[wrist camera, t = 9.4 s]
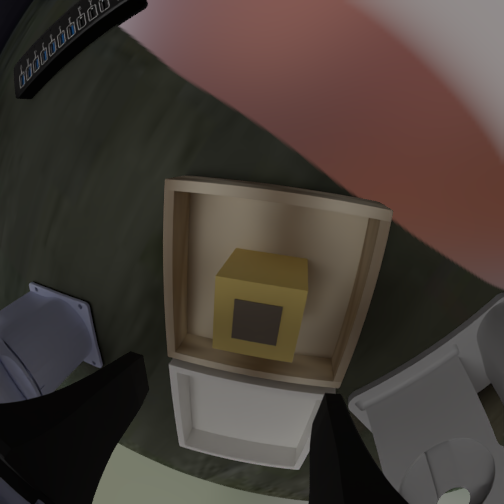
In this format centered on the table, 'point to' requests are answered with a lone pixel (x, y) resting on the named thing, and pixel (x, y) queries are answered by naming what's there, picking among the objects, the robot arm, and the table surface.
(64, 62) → the multiport hub
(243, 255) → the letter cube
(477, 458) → the phone holder
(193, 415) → the white tub
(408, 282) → the table surface
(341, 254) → the birch box
